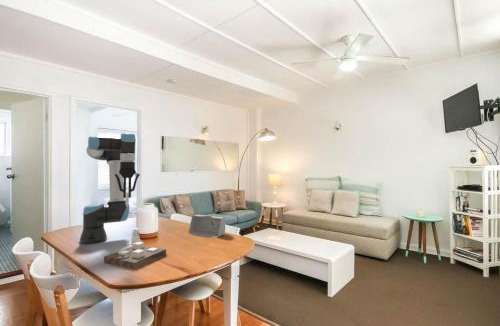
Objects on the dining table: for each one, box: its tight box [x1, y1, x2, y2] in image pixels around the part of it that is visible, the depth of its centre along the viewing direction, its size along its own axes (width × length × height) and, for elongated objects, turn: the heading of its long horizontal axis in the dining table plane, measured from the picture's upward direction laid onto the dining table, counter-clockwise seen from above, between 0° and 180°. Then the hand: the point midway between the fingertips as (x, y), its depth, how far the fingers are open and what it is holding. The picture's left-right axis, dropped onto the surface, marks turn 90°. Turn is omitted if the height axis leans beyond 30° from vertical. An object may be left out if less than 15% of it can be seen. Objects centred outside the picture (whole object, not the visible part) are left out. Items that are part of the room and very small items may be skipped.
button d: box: [147, 247, 159, 253], centre depth 148 cm, size 4×4×4 cm
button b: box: [132, 249, 144, 259], centre depth 139 cm, size 4×4×4 cm
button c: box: [133, 241, 145, 250], centre depth 152 cm, size 4×4×4 cm
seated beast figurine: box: [126, 227, 143, 249], centre depth 163 cm, size 10×9×12 cm
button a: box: [117, 249, 130, 256], centre depth 143 cm, size 4×4×4 cm
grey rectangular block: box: [188, 214, 226, 239], centre depth 198 cm, size 25×16×12 cm, turn 64°
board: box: [103, 245, 167, 270], centre depth 145 cm, size 20×22×4 cm
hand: (127, 203), depth 152 cm, fingers closed
